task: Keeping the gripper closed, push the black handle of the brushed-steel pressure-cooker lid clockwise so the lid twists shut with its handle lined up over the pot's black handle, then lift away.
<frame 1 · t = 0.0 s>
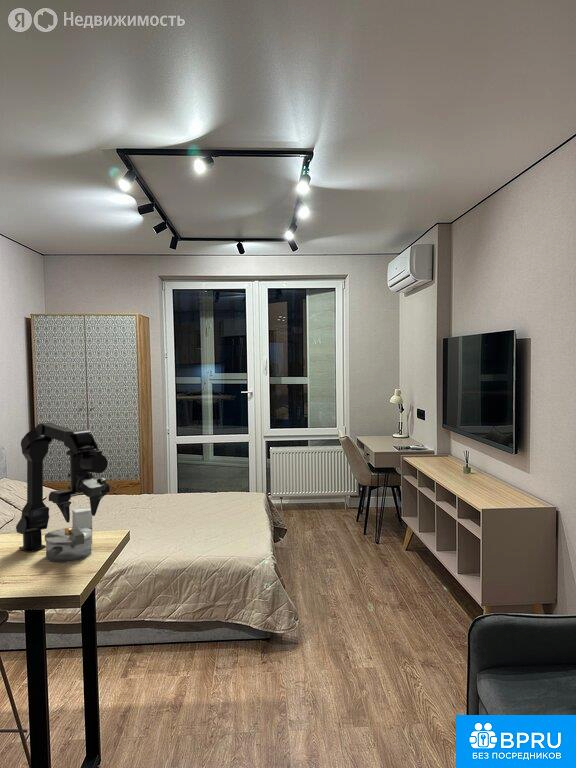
hand: (81, 518, 180), 15 cm above the table, tool pointing down, fingers open, 9 cm apart
pot: (69, 555, 190), on the table
skincare box: (82, 544, 202), on the table
lid: (71, 533, 187), point 8 cm above the table, hinge at 40.0°
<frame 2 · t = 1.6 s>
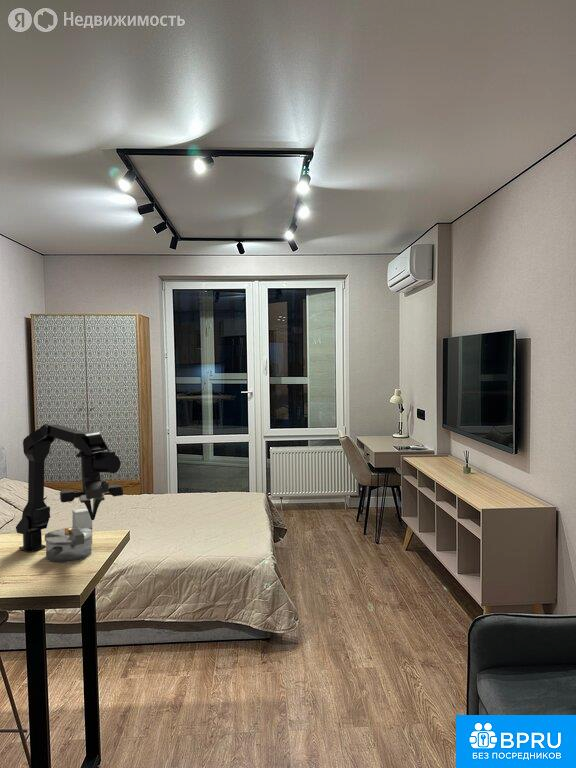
hand: (92, 519, 183), 14 cm above the table, tool pointing down, fingers closed
nothing on the table moved.
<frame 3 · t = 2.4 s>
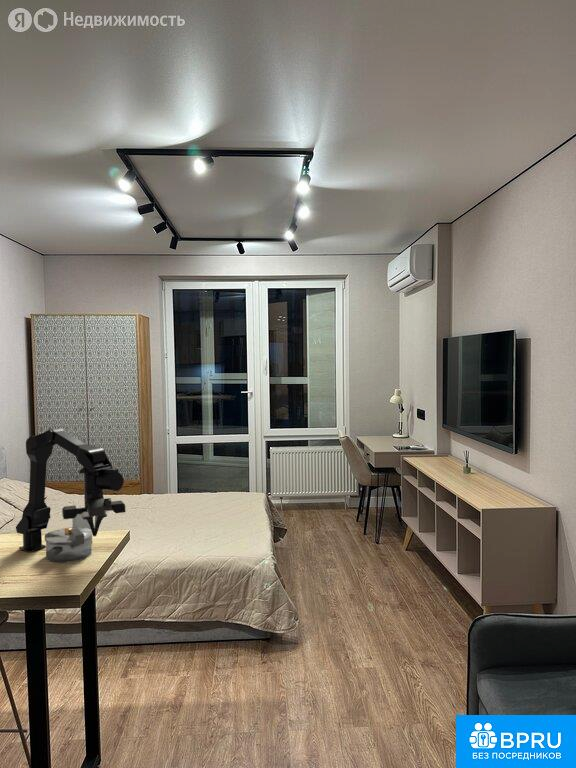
hand: (94, 536, 183), 8 cm above the table, tool pointing down, fingers closed
nothing on the table moved.
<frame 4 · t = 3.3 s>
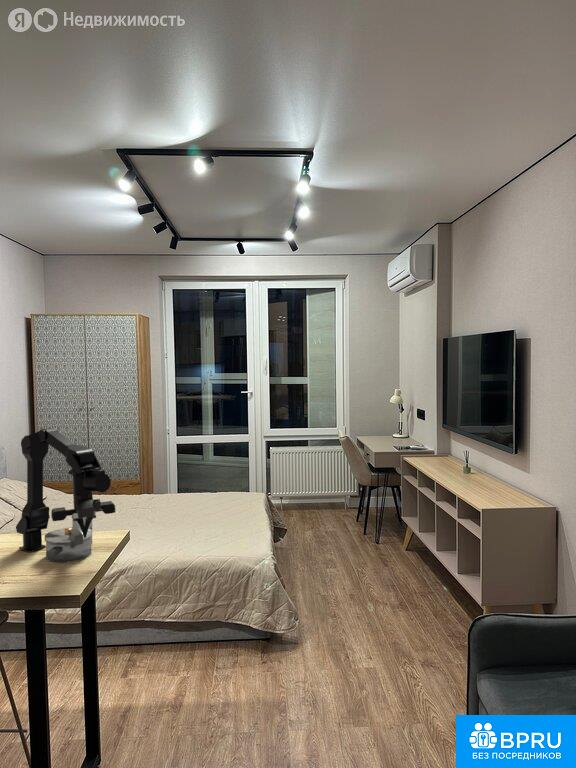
hand: (84, 537, 181), 8 cm above the table, tool pointing down, fingers closed
lid: (71, 533, 187), point 8 cm above the table, hinge at 38.6°, touching gripper
everything else where it was.
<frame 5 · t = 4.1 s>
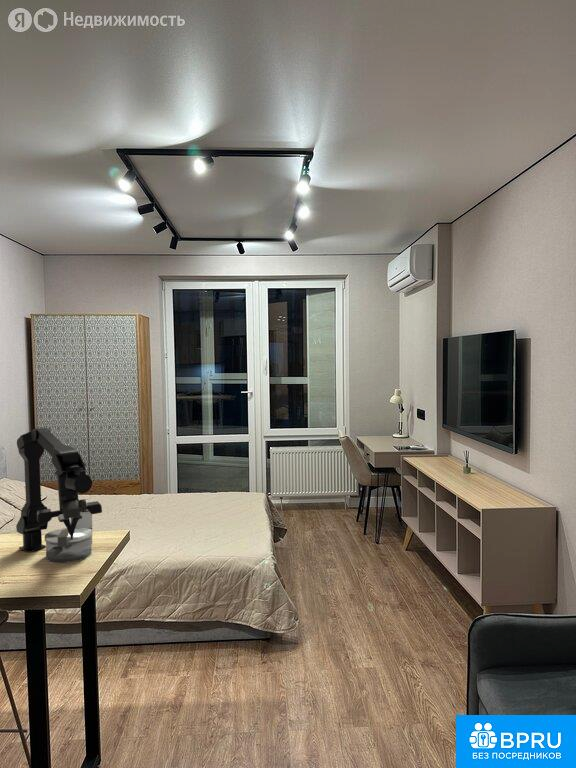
hand: (71, 538, 179), 9 cm above the table, tool pointing down, fingers closed
lid: (67, 533, 186), point 8 cm above the table, hinge at 18.8°, touching gripper
everything else where it was.
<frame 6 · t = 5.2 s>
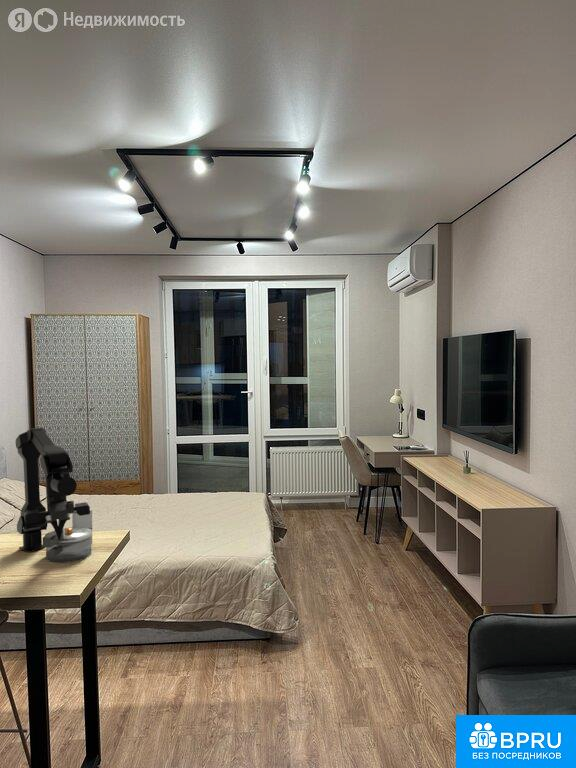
hand: (59, 539, 178), 9 cm above the table, tool pointing down, fingers closed
lid: (63, 533, 186), point 8 cm above the table, hinge at -0.5°, touching gripper
everything else where it was.
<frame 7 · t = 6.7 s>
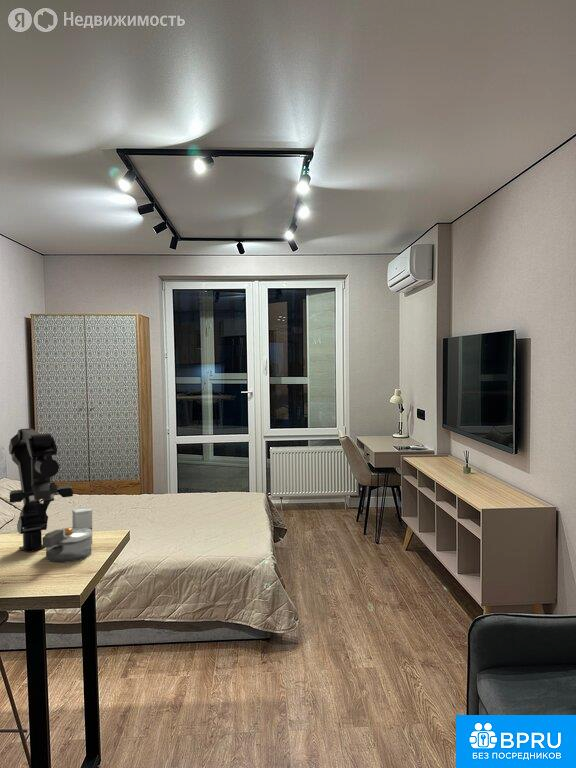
hand: (42, 519, 186), 13 cm above the table, tool pointing down, fingers closed
lid: (63, 533, 186), point 8 cm above the table, hinge at -0.6°
everything else where it was.
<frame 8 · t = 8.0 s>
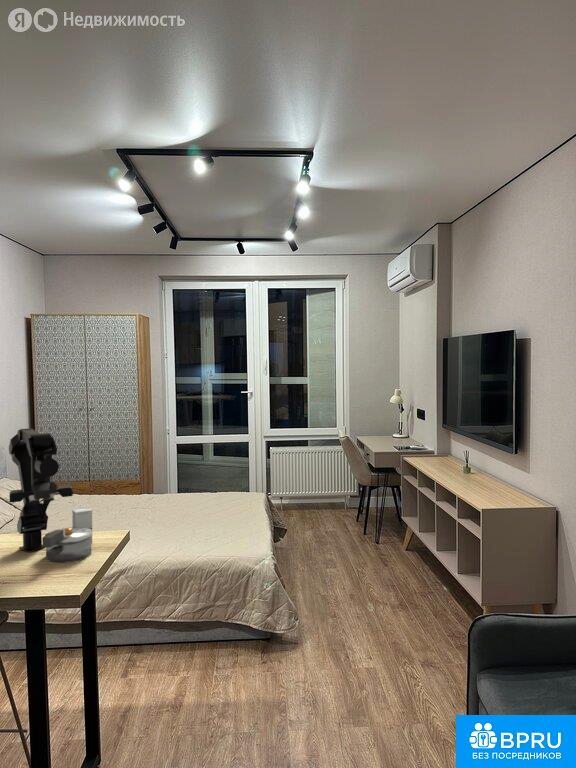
hand: (42, 519, 186), 13 cm above the table, tool pointing down, fingers closed
nothing on the table moved.
at the end: lid at -1° (first picture: +40°); skincare box moved 0.2 cm from its start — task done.
